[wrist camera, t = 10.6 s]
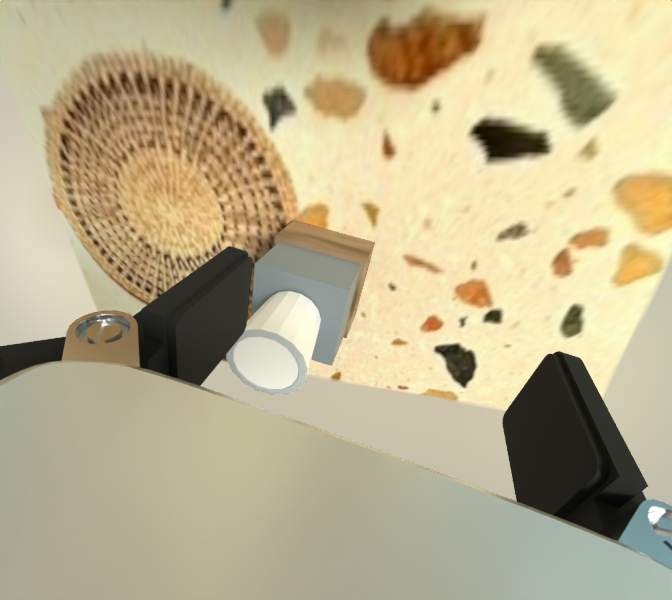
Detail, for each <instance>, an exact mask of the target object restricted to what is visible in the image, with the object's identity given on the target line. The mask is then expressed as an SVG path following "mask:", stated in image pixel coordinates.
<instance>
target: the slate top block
mask: <svg viewBox="0 0 672 600" xmlns="http://www.w3.org/2000/svg"><path fill="white" fill-rule="evenodd" d="M360 268H361V264H359V263H355V262H352V261H348V260H344V259H341V258H337V257H333V256H330V255H326V254H322V253H319V252H315V251H312V250H308V249H304V248H301V247H297V246H293V245H290V244H286V243H282V242H279V243H277V244H276V245H275V246H274V247H273V248H272V249H271V250H270V251H268V252H267V253H266V254H265V255H264V256H263V257H262V258H261V259H259V260H258V261H257V262H256V263H255V268H254V283H253V298H252V313H251V317H252V316H253V315H254V313H255V312H256V311H257V310H258V309H259V308H260V307H261V306H262V305H263V304H264V303H265V302H266V301H267V300H268V299H269V298H270V297H271V296H273V295H274V294H276V293H278V292H284V291H292V292H296V293H300V294H302V295H304V296H305V297H307V298H308V299H310V300H311V301H312V302H313V303H314V305H315V306H316V307H317V308H318V310H319V314H320V317H321V322H320V327H319V331H318V335H317V339H316V343H315V347H314V350H313V354H312V358H311V359H312V360H315V361H318V362H321V363H324V364H328V365H331V366H332V364H333V361H334V359H335V356H336V354H337V351H338V349H339V346H340V344H341V341H342V339H343V336H344V334H345V330H346V326H347V322H348V318H349V313H350V309H351V305H352V301H353V297H354V293H355V289H356V284H357V280H358V276H359V272H360Z"/></svg>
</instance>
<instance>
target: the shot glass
mask: <svg viewBox="0 0 672 600" xmlns="http://www.w3.org/2000/svg"><path fill="white" fill-rule="evenodd" d="M320 322H321V317H320V314H319V310H318V308H317V307H316V306H315V305H314V303H313V302H312V301H311V300H310V299H308V298H307V297H305V296H304V295H302V294H300V293H296V292H292V291H284V292H278V293H276V294H274V295H273V296H271V297H270V298H269V299H268V300H267V301H266V302H265V303H264V304H263V305H262V306H261V307H260V308H259V309H258V310H257V311H256V312H255V313H254V315H253V316H252V317H251V318H250V319H249V320H248V321H247V325H246V329H245V331H244V333H243V334H242V336H241V337H240V338H239V339H238V341H237V342H236V343H235V344H234V345H233V347H232V348H231V349H230V350H229V351H228V353H227V361H228V363H229V365H230V367H231V369H232V371H233V372H234V373H235V374H236V375H237V376H238V378H239V379H240V380H241V381H242V382H243V383H245V384H247V385H248V386H250V387H252V388H254V389H255V390H257V391H261V392H265V393H268V394H271V395H273V394H288V393H290V392H293V391H296V390H298V389H299V388H300V387H301V386H302V384H303V383H304V382H305V381H306V377H307V373H308V370H309V366H310V362H311V358H312V354H313V350H314V347H315V343H316V339H317V335H318V331H319V327H320Z"/></svg>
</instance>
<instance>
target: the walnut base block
mask: <svg viewBox="0 0 672 600" xmlns="http://www.w3.org/2000/svg"><path fill="white" fill-rule="evenodd" d="M279 242H282V243H286V244H290V245H293V246H297V247H301V248H304V249H308V250H312V251H315V252H319V253H322V254H326V255H330V256H333V257H337V258H341V259H344V260H348V261H352V262H355V263H359V264H361V268H360V272H359V276H358V280H357V284H356V289H355V293H354V297H353V301H352V305H351V309H350V313H349V318H348V322H347V326H346V330H345V334H344V336H343V337H344V338H346V337H347V335H348V332H349V330H350V327H351V324H352V322H353V319H354V317H355V314H356V311H357V307H358V303H359V300H360V296H361V292H362V289H363V285H364V281H365V277H366V274H367V270H368V266H369V263H370V259H371V255H372V251H373V248H374V244H375V242H371V241H367V240H364V239H360V238H357V237H353V236H349V235H346V234H342V233H339V232H335V231H332V230H328V229H324V228H321V227H317V226H314V225H310V224H306V223H303V222H299V221H296V220H293V221H292V222H291V223H290V224H289V225H287V226H286V227H285V228H284V229H283V230H281V231H280V232H279V233H278V234H277V235H275V239H274V246H275V245H276V244H277V243H279Z"/></svg>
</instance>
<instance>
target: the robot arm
mask: <svg viewBox="0 0 672 600" xmlns="http://www.w3.org/2000/svg"><path fill="white" fill-rule="evenodd" d="M251 273H252V258H251V257H248V253H247V252H246V251H243V250H240V249H237V248H234V247H230V246H229V247H227V248H226V249H225V250H223V251H222V252H220V253H219V254H218V255H216V256H215V257H213V258H212V259H211V260H209V261H208V262H206V263H205V264H204V265H202V266H201V267H200V268H198V269H197V270H195V271H194V272H193V273H191V274H190V275H188V276H187V277H186V278H184V279H183V280H182V281H180V282H179V283H177V284H176V285H175V286H173V287H172V288H170V289H169V290H168V291H166V292H165V293H163V294H162V295H161V296H159V297H158V298H157V299H155V300H154V301H152V302H151V303H150V304H148V305H147V306H145V307H144V308H143V309H141V311H140V312H139V313H137V314H136V315H134V316H133V317H132V316H131V315H129V314H127V313H124V312H119V311H100V312H94V313H91V314H88V315H85V316H83V317H81V318H79V319H77V320H76V321H74V322H73V323H72V324H71V325H70V326H69V329H68V331H67V334H66V337H61V338H54V339H48V340H41V341H34V342H27V343H21V344H14V345H6V346H0V600H672V506H670V505H668V504H666V503H664V502H661V501H658V500H654V499H652V500H646V498H645V496H644V494H643V492H642V491H643V490H644V489H645V488H646V487H648V485H647V483H646V481H645V479H644V477H643V476H642V474H641V472H640V470H639V468H638V466H637V464H636V462H635V460H634V458H633V457H632V455H631V453H630V451H629V449H628V447H627V445H626V443H625V441H624V439H623V438H622V436H621V434H620V432H619V430H618V428H617V426H616V424H615V422H614V421H613V419H612V417H611V415H610V413H609V411H608V409H607V407H606V405H605V403H604V401H603V399H602V398H601V396H600V394H599V392H598V390H597V388H596V386H595V384H594V382H593V380H592V379H591V377H590V375H589V373H588V371H587V369H586V367H585V365H584V363H583V361H582V360H581V359H580V358H578V357H575V356H572V355H569V354H566V353H563V352H559V351H558V352H555V353H554V354H548V355H546V357H545V358H544V359H543V361H542V362H541V363H540V365H539V366H538V367H537V369H536V370H535V372H534V373H533V374H532V376H531V377H530V379H529V380H528V381H527V383H526V384H525V386H524V387H523V388H522V390H521V391H520V393H519V394H518V395H517V397H516V398H515V400H514V401H513V402H512V404H511V405H510V407H509V408H508V409H507V411H506V413H505V414H504V417H503V429H504V434H505V440H506V445H507V451H508V456H509V461H510V467H511V472H512V477H513V483H514V488H515V494H516V499H517V502H516V501H514V500H511V499H508V498H506V497H503V496H500V495H498V494H495V493H492V492H489V491H487V490H484V489H481V488H479V487H476V486H473V485H471V484H468V483H465V482H463V481H460V480H457V479H455V478H452V477H449V476H447V475H444V474H441V473H439V472H436V471H433V470H431V469H428V468H425V467H422V466H420V465H417V464H414V463H412V462H409V461H406V460H403V459H401V458H398V457H395V456H392V455H390V454H387V453H384V452H382V451H379V450H376V449H373V448H370V447H368V446H365V445H362V444H360V443H357V442H354V441H351V440H349V439H346V438H343V437H341V436H338V435H335V434H332V433H329V432H327V431H324V430H321V429H318V428H316V427H313V426H310V425H307V424H305V423H302V422H299V421H296V420H294V419H291V418H288V417H285V416H283V415H280V414H277V413H274V412H271V411H269V410H266V409H263V408H260V407H258V406H254V405H252V404H249V403H246V402H244V401H241V400H238V399H235V398H232V397H230V396H227V395H224V394H221V393H218V392H215V391H213V390H210V389H207V388H204V387H201V386H200V385H201V384H202V383H203V382H204V381H205V379H206V378H207V377H208V376H209V374H210V373H211V372H212V371H213V370H214V368H215V367H216V366H217V365H218V364H219V362H220V361H221V360H222V359H223V358H224V356H225V355H226V354H227V353H228V351H229V350H230V349H231V348H232V347H233V345H234V344H235V343H236V342H237V341H238V339H239V338H240V337H241V336H242V334H243V333H244V331H245V329H246V325H247V316H248V305H249V295H250V284H251Z"/></svg>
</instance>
